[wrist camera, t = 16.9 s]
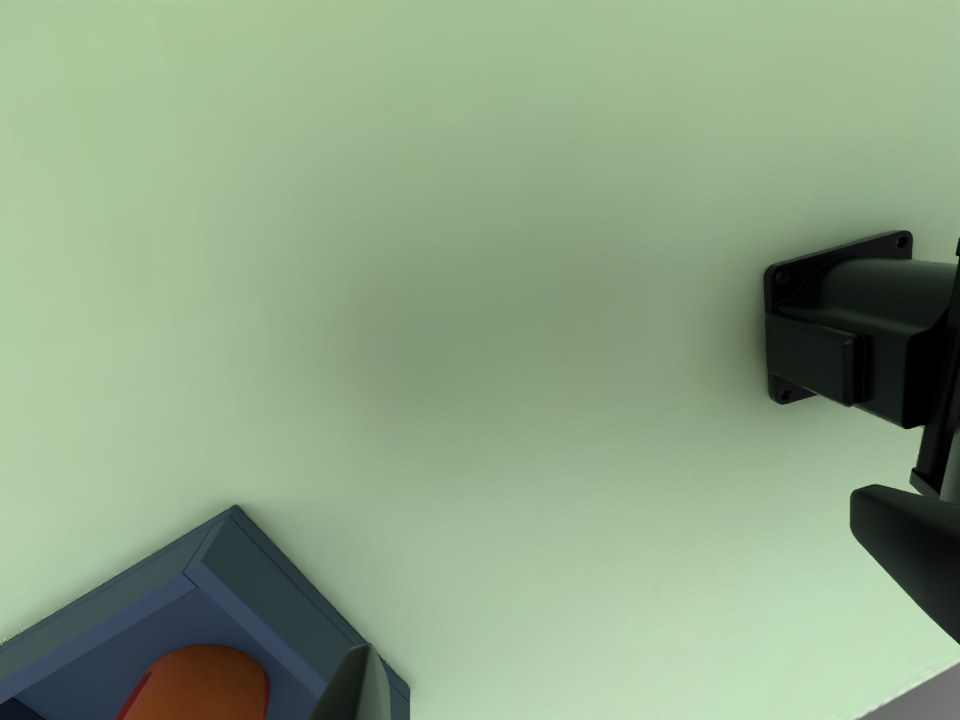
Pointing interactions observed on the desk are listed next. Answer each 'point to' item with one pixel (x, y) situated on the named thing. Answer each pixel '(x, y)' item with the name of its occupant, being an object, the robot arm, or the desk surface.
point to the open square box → (184, 629)
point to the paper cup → (200, 687)
